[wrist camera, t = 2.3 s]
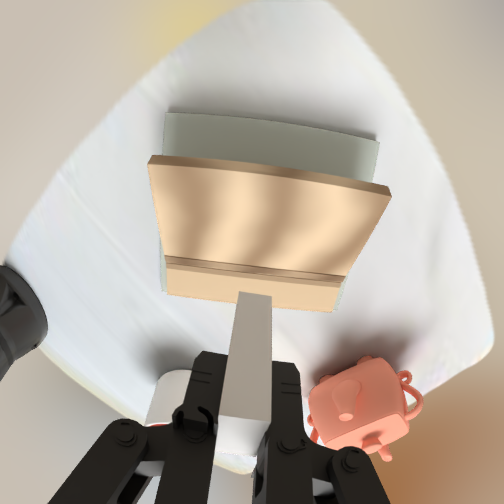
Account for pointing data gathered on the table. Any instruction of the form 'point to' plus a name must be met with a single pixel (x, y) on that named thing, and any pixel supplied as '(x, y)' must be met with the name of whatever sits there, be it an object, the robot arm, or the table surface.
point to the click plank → (262, 217)
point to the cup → (167, 397)
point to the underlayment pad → (268, 153)
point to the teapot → (362, 407)
